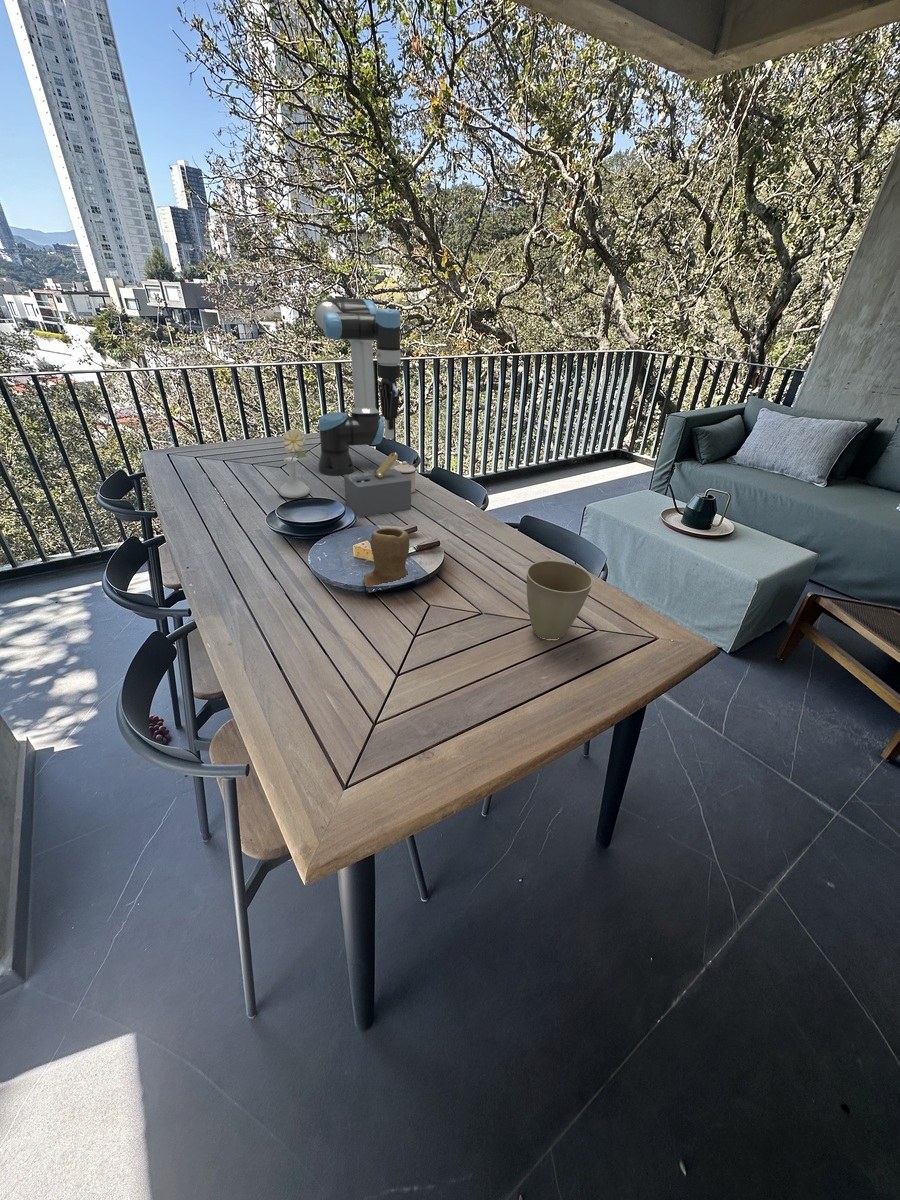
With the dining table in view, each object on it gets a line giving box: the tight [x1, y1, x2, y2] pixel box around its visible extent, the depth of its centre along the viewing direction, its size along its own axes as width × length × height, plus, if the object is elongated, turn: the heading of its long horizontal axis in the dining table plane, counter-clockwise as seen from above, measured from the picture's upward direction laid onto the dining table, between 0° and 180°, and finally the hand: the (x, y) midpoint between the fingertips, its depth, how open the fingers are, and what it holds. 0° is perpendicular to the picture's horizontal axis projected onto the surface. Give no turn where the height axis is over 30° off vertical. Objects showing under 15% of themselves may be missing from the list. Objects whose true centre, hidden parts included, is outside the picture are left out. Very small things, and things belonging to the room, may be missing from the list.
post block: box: [343, 468, 412, 518], centre depth 181 cm, size 14×20×11 cm
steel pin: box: [349, 471, 373, 483], centre depth 178 cm, size 3×8×12 cm, turn 120°
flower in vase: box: [278, 428, 311, 499], centre depth 183 cm, size 13×11×25 cm
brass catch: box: [374, 451, 399, 479], centre depth 178 cm, size 4×11×2 cm
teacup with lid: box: [392, 460, 417, 494], centre depth 196 cm, size 12×9×12 cm
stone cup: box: [363, 527, 410, 593], centre depth 134 cm, size 15×12×15 cm
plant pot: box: [526, 560, 594, 639], centre depth 117 cm, size 15×15×16 cm
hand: (389, 438), depth 173 cm, fingers closed
